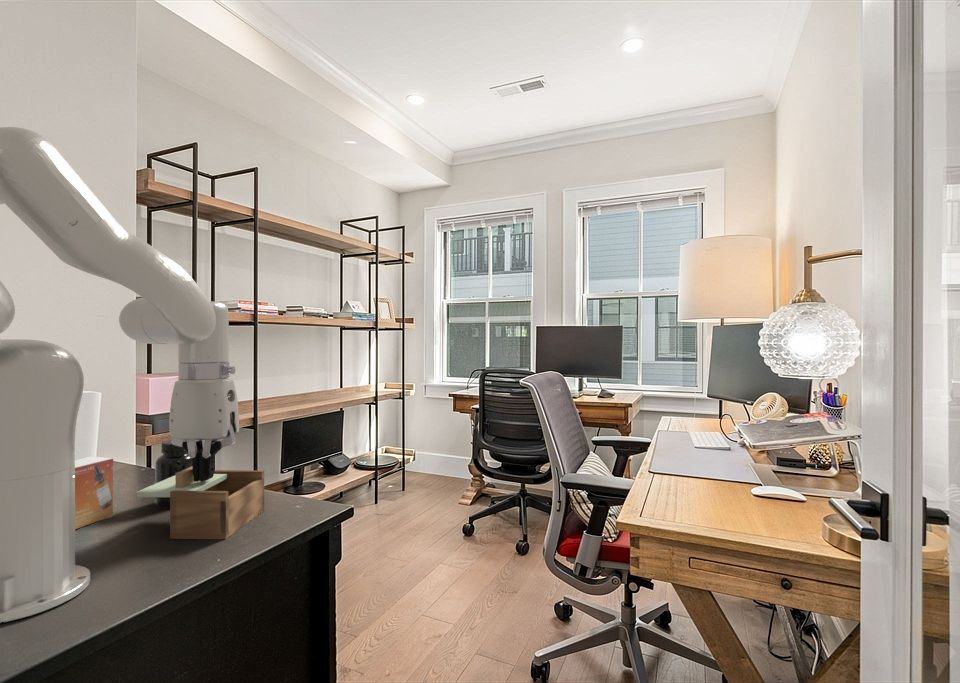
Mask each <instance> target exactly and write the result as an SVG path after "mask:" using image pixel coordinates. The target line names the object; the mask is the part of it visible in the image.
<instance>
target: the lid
mask: <svg viewBox="0 0 960 683" xmlns="http://www.w3.org/2000/svg"><path fill="white" fill-rule="evenodd" d="M225 479H227V474H214V476H213V477H212V478H210V479H208V480H206V481H204V482H200V481H198V482H194V475H193V473H192V467H189V468H187V469H185V470H182V471H180V472H178V473H176V475H175V476H172V477H170V478H168V479H165V480H163V481H161V482H158V483H156V484H155V483H153V484H152V485H150V486H147V487H145V488H142V489H140V490H137V491H136V492H135V497H136V498H155V497H170V492H171V491H204V490H206V489H208V488H210V487H212V486H214V485H216V484H218V483H219V482H221V481H223V480H225Z"/></svg>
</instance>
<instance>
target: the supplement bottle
mask: <svg viewBox="0 0 960 683" xmlns="http://www.w3.org/2000/svg"><path fill="white" fill-rule="evenodd" d="M171 441H172V439H168V440H165V441H162V442H161V448H160V449H161V450H160V453H161V454H162V455H160V456H159V457H158V458H157V459H156V460H155V463H154V465H155V466H154V467H155V468H154V475H155V476H154V478H155V480H154V481H155V482H154V484H156V483H158V482H161V481H163V480H165V479H168V478H170V477H172V476H175V475H176V473H178V472H180V471H182V470H185V469H187V468H189V467H192V458H190V457H189V453H188V452H187V451H186V450H185V449H184V448H183V447H180V446H176V445H173V444H172V443H171ZM154 500H155V505H156V507H158V508H160V507H161V509H170V497H154Z"/></svg>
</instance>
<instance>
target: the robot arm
mask: <svg viewBox="0 0 960 683" xmlns="http://www.w3.org/2000/svg"><path fill="white" fill-rule="evenodd" d="M0 205H5V206H6V207H7V208H9V210H11V212H12V213H13V214H15V215H16V216H17V217H18V218H19V219H20V221H22V222H23V224H25V226H27V227H28V228H29V229H30V230H31V231H32V232H33V233H34V234H35V235H36V237H38V238H39V239H40V240H41V241H42V242H43V243H44V245H45V246H46V247H48V249H49V250H51V252H52V253H54V255H55V256H56V257H57V258H58V259H59V260H60V261H62V262H63V263H64V264H67V265H69V266H70V267H73V268H75V269H76V270H79V271H81V272H84V273H87V274H89V275H91V276H92V275H93V276H96V277H99V278H102V279H105V280H107V281H110V282H114V283H116V284H118V285H121V286H123V287H124V288H126V289H129V290H131V292H133V293H135V294H137V295H139V296H140V297H139V298H136V299H133V300H132V301H131V300H130V301H129V302H128V303H127V304H125V305H124V307H123V308H122V309H121V311H120V313H119V316H118V321H119V322H118V323H119V327H120V329H121V330H122V332H123V333H124V334H125V335H126V336H127V337H128V338H130V339H132V340H134V341H136V342H139V343H142V344H149V345H150V344H151V345H168V344H171V345H172V344H173V345H176V344H177V346H178V360H177V361H178V372H177V373H178V375H177V376H178V377H177V378H178V379H177V380H178V381H175V382H174V385H173V389H172V393H171V399H170V408H169V419H168V420H169V423H168V424H169V426H168V428H169V434H170V436H171V440H172V441H171V443H172V444H173V445H176V446H180V447H183V448H184V449H185V450H186V451H187V452H188V453H189V457H190V458H192V473H193V475H194V482H198V481H200V482H204V481H206V480H208V479H210V478H212V477H213V476H214V472H215V471H216V455H217V454H219V451H220V450H222V449H223V448H225V447H229V446H232V445H234V444H236V442H237V439H236V435H237V434H238V433H239V431H240V412H239V402H238V395H237V394H238V393H237V390H236V386H235V383H234V380H233V379H229V378H230V375H235V373H236V367H235V366H231V365H230V362H229V361H230V360H229V355H230V354H229V353H230V352H229V348H230V347H229V345H230V344H229V341H230V339H229V332H230V330H229V327H230V326H229V325H230V324H229V320H230V319H229V318H230V317H229V308H228V306H227V305H226V304H225V303H223V302H219V301H213V300H210V299H209V298H208V296H206V294H205V292H204V291H203V290H202V289H201V287H200V286H199V284H198V283H197V282H196V281H195V280H194V279H193V277H192V276H191V275H190V274H189V273H188V272H187V271H186V270H185V269H184V268H183V267H182V266H181V265H179V264H178V263H177V262H176V261H174V259H171V258H170V257H169V256H167V255H166V254H164V253H163V252H161V251H160V250H158V249H156V248H155V247H153V246H152V245H151V244H149V243H147V242H146V241H144V240H143V239H141V238H139V237H137V236H136V235H134V234H132V233H131V232H129V231H128V230H126V229H125V228H124V227H123V226H122V225H121V223H120V222H118V220H117V219H116V218H115V217H114V216H113V214H112V213H111V211H109V209H108V208H107V207H106V206H105V204H103V203H102V201H101V200H100V199H99V197H98V196H97V195H96V194H95V192H94V191H93V190H92V189H91V188H90V187H89V186H88V184H87V183H86V182H85V180H83V178H82V177H81V176H80V175H79V174H78V173H77V171H76V170H75V169H74V168H73V167H72V165H71V164H70V163H69V162H68V161H67V159H66V158H65V157H64V156H63V155H62V154H61V152H60V151H59V150H58V149H57V148H56V147H55V146H54V145H53V144H52V143H51V142H50V141H49V140H48V139H47V138H45V137H44V136H43V135H41V134H39V133H37V132H35V131H33V130H30V129H27V128H23V127H14V126H4V127H3V126H2V127H0ZM15 307H16V306H15V303H14V299H13V298H12V296H11V294H10V292H9V291H8V289H7V288H6V287H5V285H4V284H3V282H2V281H1V280H0V334H2V333H4V332H5V331H6V330H7V329H8V328H9V327H10V326H11V324H12V323H13V320H14V318H15V314H16V308H15ZM84 379H85V377H84V373H83V369H82V366H81V364H80V362H79V361H78V359H77V358H76V357H75V356H74V355H73V353H71V352H70V351H68V350H67V349H66V348H63V347H62V346H60V345H58V344H54V343H51V342H50V341H49V342H48V341H44V340H38V339H22V338H21V339H15V338H14V339H12V338H11V339H7V338H6V339H1V338H0V624H1V623H2V622H3V623H7V622H12V621H16V620H20V619H23V618H26V617H27V618H28V617H31V616H35V615H36V614H40V613H43V612H45V611H48V610H50V609H53V608H55V607H57V606H60V605H62V604H64V603H66V602H67V601H69V600H72V599H73V598H75V597H76V596H78V595H79V594H80V593H82V592H83V591H84V590H86V588H88V586H89V585H90V583H91V578H92V577H91V571H90V569H88V568H87V567H85V566H81V565H77V564H76V529H75V460H76V459H75V456H76V455H75V453H76V431H77V430H76V429H77V419H78V416H79V415H78V414H79V410H80V405H81V402H82V398H83V393H84V387H85V385H84V384H85V383H84V382H85V381H84Z"/></svg>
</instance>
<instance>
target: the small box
mask: <svg viewBox="0 0 960 683" xmlns="http://www.w3.org/2000/svg"><path fill="white" fill-rule="evenodd" d="M113 516H114V458H113V457H99V456H87V457H86V456H85V457H82V458H79V459H75V530H77V529H79V528H82V527H85V526H88V525H90V524H94V523H97V522H99V521H103V520H106V519H109V518H112V517H113Z"/></svg>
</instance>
